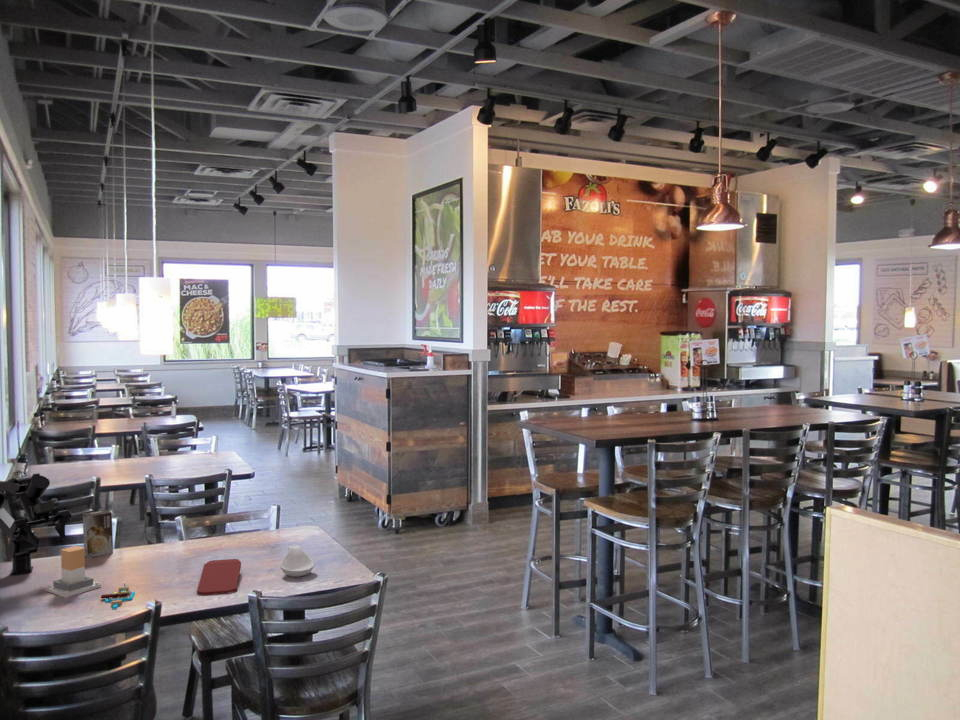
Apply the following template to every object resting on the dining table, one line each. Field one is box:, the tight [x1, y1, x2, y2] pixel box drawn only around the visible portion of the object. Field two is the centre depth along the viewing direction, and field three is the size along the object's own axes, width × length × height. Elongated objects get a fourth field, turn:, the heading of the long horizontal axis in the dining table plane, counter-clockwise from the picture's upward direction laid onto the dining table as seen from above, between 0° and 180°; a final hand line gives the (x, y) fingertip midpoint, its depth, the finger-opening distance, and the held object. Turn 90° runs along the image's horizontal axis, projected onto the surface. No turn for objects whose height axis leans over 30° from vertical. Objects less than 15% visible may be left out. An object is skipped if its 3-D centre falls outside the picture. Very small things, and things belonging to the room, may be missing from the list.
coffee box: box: [82, 509, 114, 558], centre depth 285 cm, size 9×6×16 cm
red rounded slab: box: [196, 558, 242, 596], centre depth 254 cm, size 12×5×26 cm
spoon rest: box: [279, 544, 315, 578], centre depth 267 cm, size 24×12×7 cm, turn 20°
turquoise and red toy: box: [100, 581, 136, 610], centre depth 238 cm, size 20×5×9 cm
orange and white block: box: [60, 545, 86, 585], centre depth 246 cm, size 5×5×12 cm
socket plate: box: [44, 575, 102, 598], centre depth 246 cm, size 12×12×3 cm
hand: (50, 542), depth 253 cm, fingers open, 9 cm apart
